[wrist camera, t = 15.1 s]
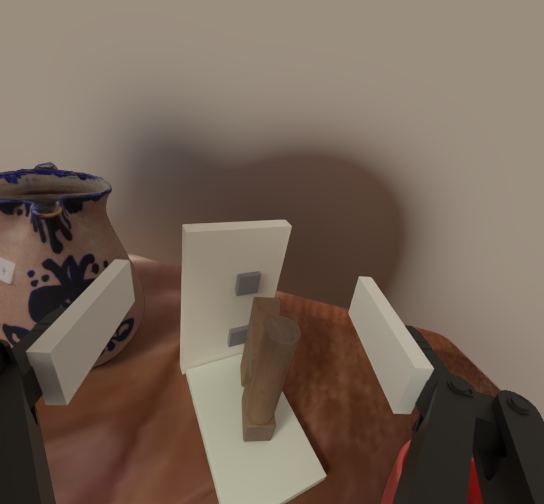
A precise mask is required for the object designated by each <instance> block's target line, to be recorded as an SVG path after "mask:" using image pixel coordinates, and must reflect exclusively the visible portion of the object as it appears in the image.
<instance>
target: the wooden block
mask: <svg viewBox="0 0 544 504" xmlns="http://www.w3.org/2000/svg"><path fill="white" fill-rule="evenodd" d="M280 305H281V299H280V298H268V297H254V299H253V304H252V309H251V314H250V319H249V324H248V329H247V336H246V340H245V345H244V350H243V355H242V360H241V365H240V373H241V385H242V387H244V391H243V395H242V428H243V441H244V442H254V441H270V440H271V439H272V436H273V433H274V430H275V428H276V420H275V410H276V407H277V404H278V401H279V398H280V396H281V393H282V390H283V387H284V384H285V381H286V378H287V375H288V372H289V369H290V366H291V363H292V360H293V357H294V354H295V351H296V348H297V345H298V343H299V340H300V337H301V330H300V328H299V325H298V324H297V323H296V322H295V321H294V320H292V319H291V318H288V317H286V316H280Z"/></svg>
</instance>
